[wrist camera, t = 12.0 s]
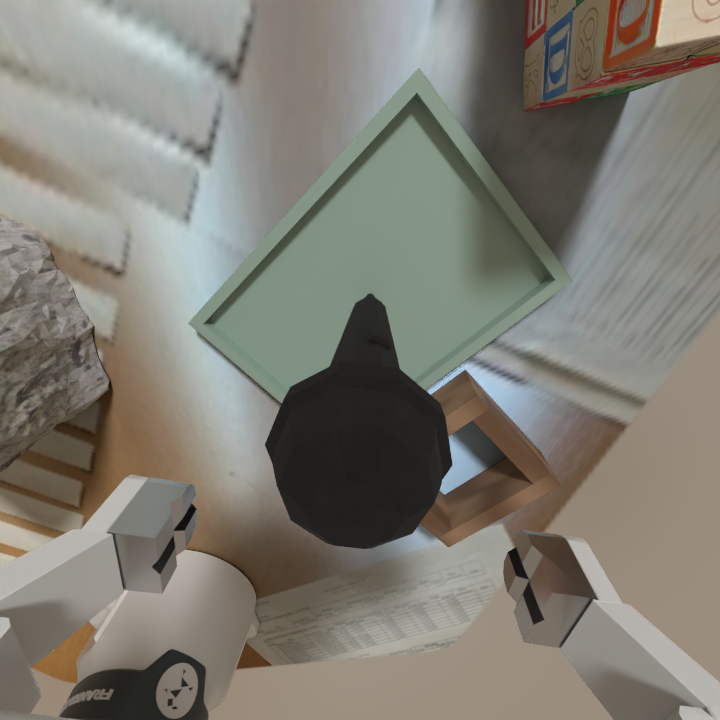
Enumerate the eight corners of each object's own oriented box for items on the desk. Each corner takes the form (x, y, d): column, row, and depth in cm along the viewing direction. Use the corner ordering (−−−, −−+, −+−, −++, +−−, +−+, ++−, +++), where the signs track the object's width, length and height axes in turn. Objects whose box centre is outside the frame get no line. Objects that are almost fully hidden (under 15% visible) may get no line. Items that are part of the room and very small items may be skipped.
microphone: (422, 276, 26) (516, 478, 8) (387, 344, 29) (401, 618, 11) (351, 243, 26) (285, 388, 8) (321, 316, 28) (217, 558, 10)
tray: (341, 441, 34) (339, 453, 32) (197, 316, 29) (188, 323, 28) (562, 275, 26) (572, 280, 25) (416, 75, 22) (419, 67, 21)
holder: (441, 511, 37) (448, 547, 33) (365, 442, 34) (363, 474, 30) (541, 452, 33) (560, 485, 29) (465, 369, 30) (477, 395, 26)
